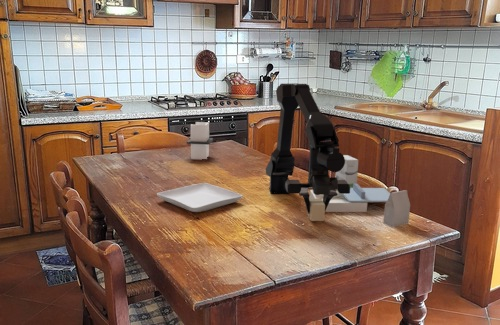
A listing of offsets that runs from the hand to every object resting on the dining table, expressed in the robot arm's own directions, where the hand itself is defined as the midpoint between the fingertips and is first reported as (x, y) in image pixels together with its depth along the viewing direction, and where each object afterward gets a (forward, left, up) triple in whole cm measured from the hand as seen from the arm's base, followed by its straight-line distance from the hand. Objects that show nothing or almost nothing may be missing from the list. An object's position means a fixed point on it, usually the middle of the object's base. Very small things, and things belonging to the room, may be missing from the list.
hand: (315, 213), depth 145 cm
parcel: (0, 0, -1) cm, 1 cm away
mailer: (+10, +14, -2) cm, 17 cm away
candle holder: (-39, +82, -2) cm, 91 cm away
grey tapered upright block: (+24, -3, -2) cm, 24 cm away
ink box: (+18, +34, -2) cm, 39 cm away
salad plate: (-36, +17, -3) cm, 40 cm away
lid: (+20, +14, +1) cm, 25 cm away
